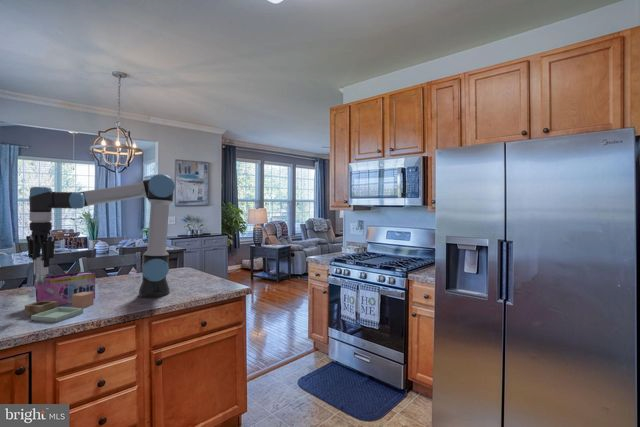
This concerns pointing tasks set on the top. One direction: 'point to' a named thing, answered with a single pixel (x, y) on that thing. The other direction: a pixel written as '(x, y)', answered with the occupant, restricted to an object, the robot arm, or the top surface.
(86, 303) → the cube
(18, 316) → the top surface
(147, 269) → the robot arm
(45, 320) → the tray
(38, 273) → the pin
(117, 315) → the top surface
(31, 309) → the bore block
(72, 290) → the gum box
